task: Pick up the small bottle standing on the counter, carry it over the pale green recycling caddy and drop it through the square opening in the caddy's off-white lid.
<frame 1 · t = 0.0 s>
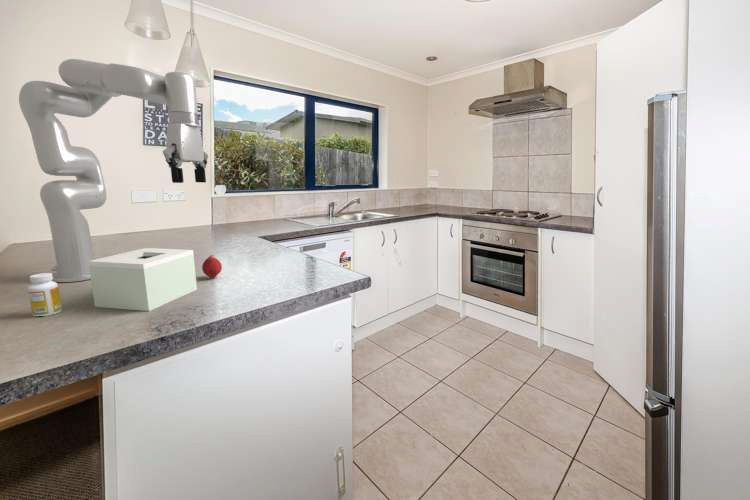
hand: (189, 182, 105), 31 cm above the worktop, tool pointing down, fingers open, 9 cm apart
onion: (213, 278, 119), on the worktop
caddy: (149, 297, 100), on the worktop
supplement bottle: (48, 314, 88), on the worktop
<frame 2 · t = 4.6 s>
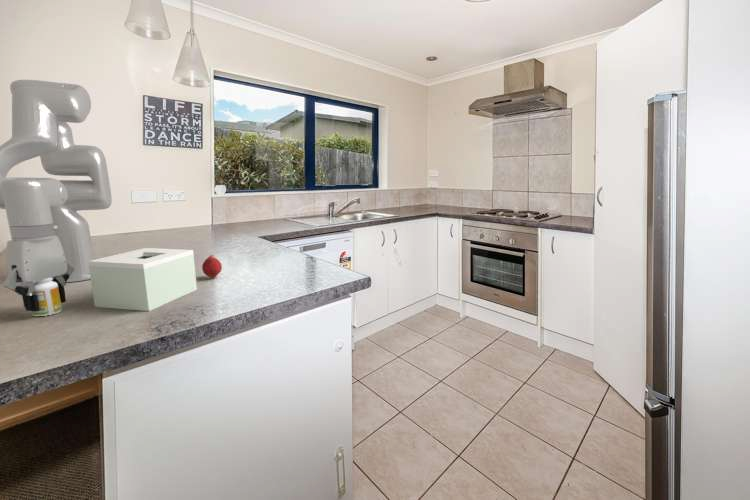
hand: (46, 305, 88), 2 cm above the worktop, tool pointing down, fingers closed on supplement bottle, 5 cm apart
supplement bottle: (48, 314, 88), on the worktop, touching gripper
everything else where it was.
when the fingers open (15 cm above the worktop, at t = 9.0 s): supplement bottle drops 12 cm, resting on caddy.
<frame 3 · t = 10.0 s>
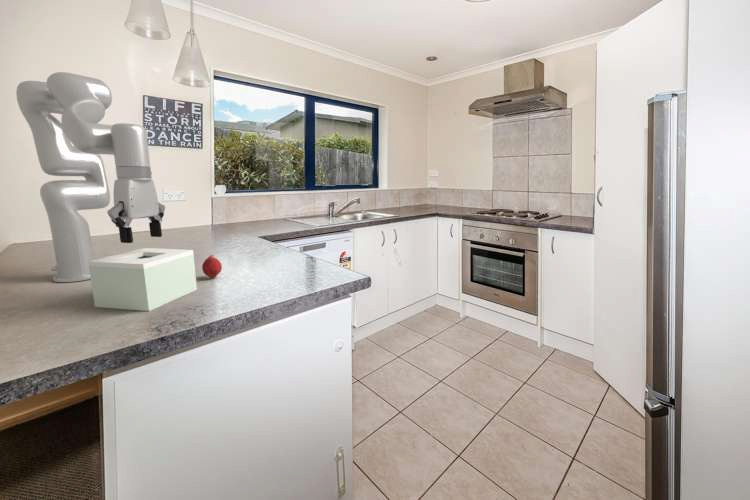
hand: (142, 239, 97), 16 cm above the worktop, tool pointing down, fingers open, 9 cm apart
supplement bottle: (150, 294, 100), point 1 cm above the worktop, touching caddy
everything else where it was.
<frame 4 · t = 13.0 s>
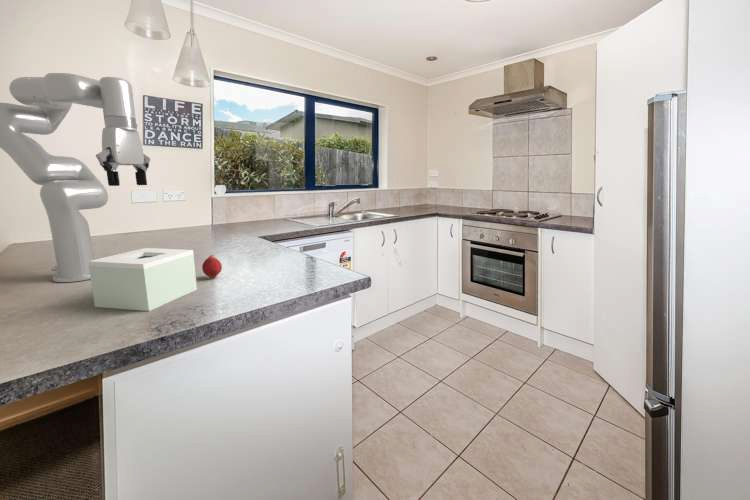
hand: (128, 185, 107), 30 cm above the worktop, tool pointing down, fingers open, 9 cm apart
at the end: supplement bottle inside the target area on the caddy (0.3 cm from its centre), point 0.9 cm above the caddy's base; the gripper is holding nothing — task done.
